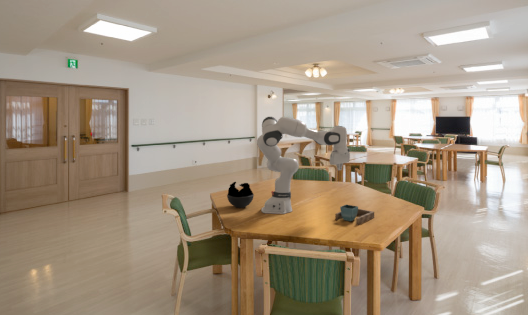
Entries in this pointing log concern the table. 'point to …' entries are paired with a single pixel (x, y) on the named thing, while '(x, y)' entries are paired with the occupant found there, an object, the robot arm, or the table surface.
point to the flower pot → (349, 212)
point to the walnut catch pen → (363, 217)
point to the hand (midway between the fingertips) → (339, 170)
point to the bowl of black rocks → (240, 195)
